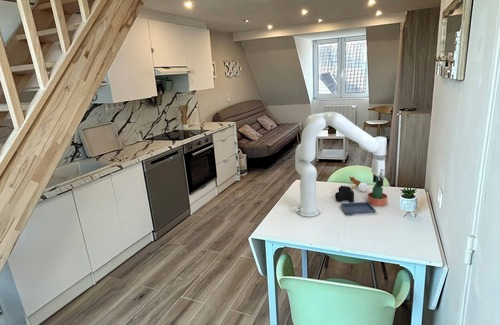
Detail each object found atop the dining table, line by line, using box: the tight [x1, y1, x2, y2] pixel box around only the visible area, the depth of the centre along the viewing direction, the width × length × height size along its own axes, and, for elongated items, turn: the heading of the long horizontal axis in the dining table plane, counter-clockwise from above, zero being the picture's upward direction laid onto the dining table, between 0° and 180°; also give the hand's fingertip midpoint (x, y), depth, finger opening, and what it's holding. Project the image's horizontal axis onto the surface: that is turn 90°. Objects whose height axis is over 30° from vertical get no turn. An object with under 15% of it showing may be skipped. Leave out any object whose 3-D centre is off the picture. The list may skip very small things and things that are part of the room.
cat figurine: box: [348, 174, 369, 193], centre depth 222 cm, size 13×12×18 cm
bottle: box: [371, 176, 384, 199], centre depth 195 cm, size 6×6×18 cm
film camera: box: [334, 185, 355, 203], centre depth 205 cm, size 15×10×9 cm, turn 16°
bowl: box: [366, 192, 389, 207], centre depth 197 cm, size 12×12×6 cm
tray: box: [340, 201, 376, 216], centre depth 190 cm, size 17×12×2 cm
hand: (377, 184), depth 194 cm, fingers open, 6 cm apart
